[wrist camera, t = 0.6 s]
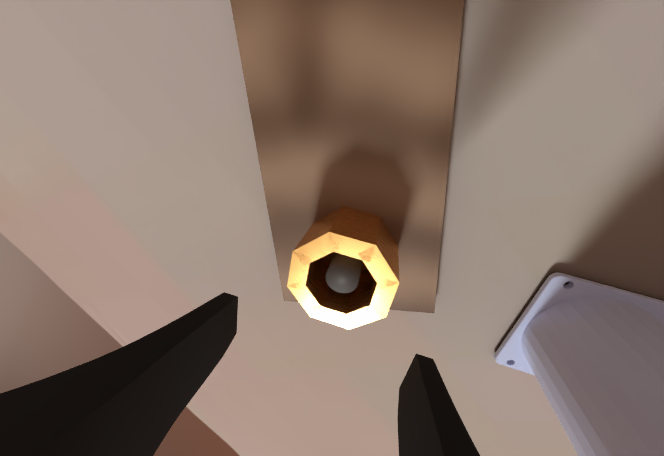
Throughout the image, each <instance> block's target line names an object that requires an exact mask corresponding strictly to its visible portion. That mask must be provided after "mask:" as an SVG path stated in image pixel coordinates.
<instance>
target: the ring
mask: <svg viewBox="0 0 664 456" xmlns="http://www.w3.org/2000/svg"><path fill="white" fill-rule="evenodd" d="M332 252H336V253H339V254H343V255H346V256H350V257H353V258H356V259H360V260H362V261H363V262H364V264H365V265H366V267H367V268H368V269H367V270H364V271H362V272H360V277H359V282H358V285H357V287H356V289H355V290H353V291H352V292H349V293H339V292H336V291H334V290H333V289H331V288H330V287H329V285H328V284H327V282H326V273H327V271H328V268H329V266H330V264H331V262H330V260H329V259H328V257H327V256H326V255H328V254H330V253H332ZM398 285H399V255H398V245H397V243H396V241H395V240H394V238H393V236H392V235H391V233H390V231H389V230H388V228H387V226H386V225H385V223H384V221H383V220H382V218H381V216H380V215H376V214H372V213H368V212H365V211H361V210H357V209H354V208H350V207H346V206H342V207H340V208H339V209H337V210H335V211H333V212H331V213H330V214H328V215H326V216H324V217H323V218H321V219H319V220H317V221H315V222H314V223H313V224H312V226H311V227H310V228H309V230H308V231H307V232H306V234H305V235H304V237H303V238H302V239H301V241H300V242H299V243H298V245H297V246H296V247H295V249H294V250H293V252H292V259H291V265H290V271H289V278H288V284H287V287H288V288H289V289H290V291H291V292H292V293H293V295H294V296H295V297H296V299H297V300H298V301H299V303H300V304H301V305H302V307H303V308H304V309H305V310H306V312H307V313H308V314H309V316H310V317H312V318H315V319H318V320H321V321H324V322H328V323H331V324H334V325H337V326H340V327H343V328H346V329H352V328H355V327H358V326H361V325H364V324H367V323H370V322H373V321H376V320H379V319H382V318H385V317H386V316H387V313H388V311H389V308H390V306H391V303H392V301H393V298H394V295H395V293H396V290H397V288H398Z"/></svg>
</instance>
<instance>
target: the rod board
mask: <svg viewBox="0 0 664 456" xmlns="http://www.w3.org/2000/svg"><path fill="white" fill-rule="evenodd" d="M230 1H231V6H232V12H233V18H234V23H235V29H236V34H237V40H238V46H239V51H240V57H241V62H242V68H243V74H244V79H245V85H246V90H247V96H248V102H249V107H250V113H251V118H252V124H253V129H254V135H255V141H256V146H257V152H258V157H259V163H260V169H261V174H262V180H263V185H264V191H265V197H266V202H267V208H268V213H269V219H270V225H271V230H272V236H273V241H274V247H275V253H276V258H277V264H278V269H279V275H280V281H281V286H282V292H283V297H284V301H294V302H299V301H298V300H297V299H296V297H295V296H294V295H293V293H292V292H291V291H290V289H289V288H288V287H287V284H288V278H289V271H290V265H291V259H292V252H293V250H294V249H295V247H296V246H297V245H298V243H299V242H300V241H301V239H302V238H303V237H304V235H305V234H306V232H307V231H308V230H309V228H310V227H311V226H312V224H313V223H314V222H315V221H317V220H319V219H321V218H323V217H324V216H326V215H328V214H330V213H331V212H333V211H335V210H337V209H339V208H340V207H342V206H346V207H350V208H354V209H357V210H361V211H365V212H368V213H372V214H376V215H380V216H381V218H382V220H383V221H384V223H385V225H386V226H387V228H388V230H389V231H390V233H391V235H392V236H393V238H394V240H395V241H396V243H397V245H398V255H399V285H398V288H397V290H396V293H395V295H394V298H393V301H392V303H391V306H390V308H389V309H390V310H402V311H414V312H426V313H434V310H435V299H436V289H437V279H438V268H439V258H440V248H441V237H442V227H443V216H444V206H445V196H446V185H447V175H448V165H449V154H450V144H451V134H452V123H453V113H454V102H455V92H456V82H457V71H458V61H459V51H460V40H461V30H462V19H463V9H464V0H230ZM326 256H327V257H328V259H329V260H330V262H331V264H330V266H329V268H328V271H327V273H326V282H327V284H328V285H329V287H330V288H331V289H333V290H334V291H336V292H339V293H349V292H352V291H353V290H355V289H356V287H357V285H358V282H359V277H360V272H362V271H364V270H367V269H368V268H367V267H366V265H365V264H364V262H363V261H362V260H360V259H356V258H353V257H350V256H346V255H343V254H339V253H336V252H332V253H330V254H328V255H326Z"/></svg>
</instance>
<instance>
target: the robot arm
mask: <svg viewBox="0 0 664 456" xmlns="http://www.w3.org/2000/svg"><path fill="white" fill-rule="evenodd" d="M568 281H569V283H568V284H567V285H564V283H566V282H568ZM237 308H238V297H237V296H234V295H231V294H228V293H222V294H220V295H219V296H217V297H215V298H213V299H212V300H210V301H208V302H207V303H205V304H203V305H201V306H200V307H198V308H196V309H194V310H193V311H191V312H189V313H188V314H186V315H184V316H182V317H180V318H179V319H177V320H175V321H173V322H171V323H169V324H168V325H166V326H164V327H162V328H160V329H158V330H156V331H154V332H152V333H150V334H148V335H146V336H144V337H142V338H141V339H139V340H137V341H134V342H132V343H130V344H128V345H126V346H124V347H122V348H120V349H117V350H115V351H113V352H111V353H108V354H106V355H104V356H102V357H99V358H97V359H94V360H92V361H89V362H87V363H84V364H82V365H79V366H76V367H74V368H71V369H69V370H66V371H63V372H61V373H58V374H56V375H53V376H50V377H48V378H45V379H42V380H39V381H36V382H34V383H31V384H28V385H25V386H22V387H19V388H16V389H13V390H10V391H7V392H4V393H1V394H0V456H153V455H154V453H155V452H156V450H157V448H158V447H159V445H160V444H161V442H162V440H163V439H164V437H165V436H166V434H167V433H168V431H169V429H170V428H171V426H172V425H173V423H174V422H175V421H176V419H177V418H178V416H179V415H180V413H181V412H182V411H183V409H184V408H185V407H186V405H187V404H188V403H189V401H190V400H191V399H192V397H193V396H194V395H195V393H196V392H197V391H198V389H199V388H200V387H201V385H202V384H203V383H204V381H205V380H206V379H207V377H208V376H209V375H210V373H211V372H212V371H213V369H214V368H215V366H216V365H217V364H218V362H219V361H220V360H221V358H222V357H223V355H224V354H225V352H226V350H227V349H228V347H229V345H230V343H231V342H232V340H233V338H234V336H235V335H236V331H237ZM494 358H495V361H496V362H497V363H498V364H501V365H504V366H507V367H510V368H513V369H517V370H520V371H523V372H526V373H529V374H532V375H535V377H536V378H537V380H538V382H539V384H540V386H541V388H542V389H543V391H544V393H545V395H546V397H547V399H548V401H549V402H550V404H551V406H552V408H553V410H554V412H555V414H556V415H557V417H558V419H559V421H560V423H561V425H562V427H563V428H564V430H565V432H566V434H567V436H568V438H569V439H570V441H571V443H572V445H573V447H574V449H575V451H576V452H577V454H578V456H664V301H663V300H659V299H655V298H652V297H648V296H644V295H641V294H637V293H633V292H630V291H626V290H622V289H619V288H615V287H611V286H608V285H604V284H600V283H597V282H593V281H589V280H586V279H582V278H578V277H575V276H571V275H567V274H564V273H558V272H557V273H553V274H551V275H550V276H549V277H548V278H547V279H546V281H545V282H544V283H543V285H542V286H541V288H540V289H539V291H538V292H537V294H536V295H535V296H534V298H533V299H532V301H531V302H530V304H529V305H528V306H527V308H526V309H525V311H524V312H523V314H522V315H521V317H520V318H519V319H518V321H517V322H516V324H515V325H514V327H513V328H512V329H511V331H510V332H509V334H508V335H507V337H506V338H505V340H504V341H503V342H502V344H501V345H500V347H499V348H498V350H497V351H496V353H495V354H494ZM398 439H399V456H480V455H479V453H478V451H477V449H476V447H475V445H474V443H473V442H472V440H471V438H470V436H469V434H468V432H467V430H466V428H465V426H464V424H463V422H462V420H461V418H460V416H459V414H458V412H457V410H456V408H455V406H454V404H453V402H452V399H451V397H450V395H449V393H448V391H447V389H446V387H445V384H444V382H443V380H442V378H441V376H440V373H439V371H438V369H437V367H436V364H435V362H434V360H433V359H431V358H428V357H425V356H422V355H419V354H416V355H415V357H414V359H413V361H412V363H411V365H410V367H409V370H408V372H407V374H406V376H405V378H404V380H403V382H402V384H401V386H400V388H399V403H398Z"/></svg>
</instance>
